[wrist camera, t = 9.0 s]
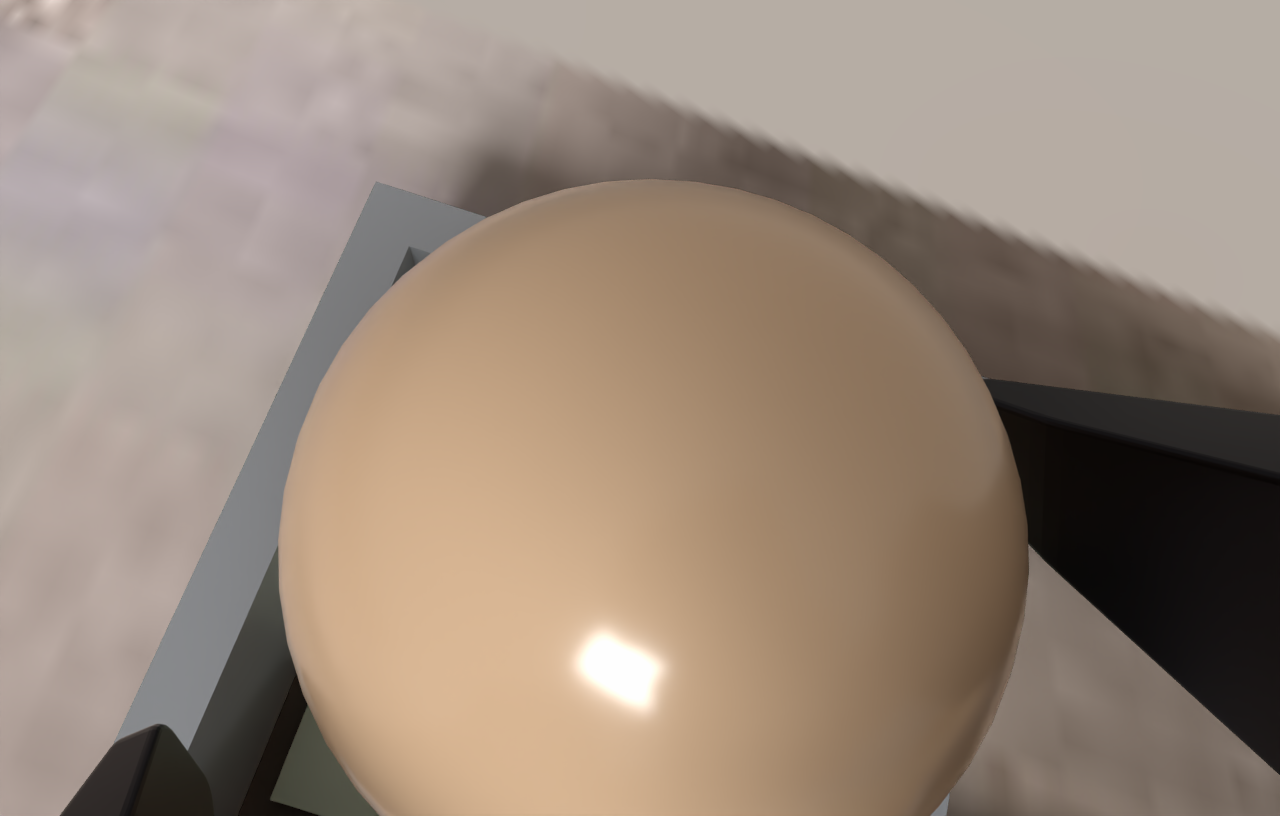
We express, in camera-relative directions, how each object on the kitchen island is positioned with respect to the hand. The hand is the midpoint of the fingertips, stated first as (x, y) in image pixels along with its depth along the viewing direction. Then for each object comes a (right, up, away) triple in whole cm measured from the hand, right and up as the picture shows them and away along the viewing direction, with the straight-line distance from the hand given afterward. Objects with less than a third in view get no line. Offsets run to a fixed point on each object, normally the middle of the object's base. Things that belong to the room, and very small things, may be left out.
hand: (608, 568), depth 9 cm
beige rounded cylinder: (-1, -3, +8) cm, 8 cm away
